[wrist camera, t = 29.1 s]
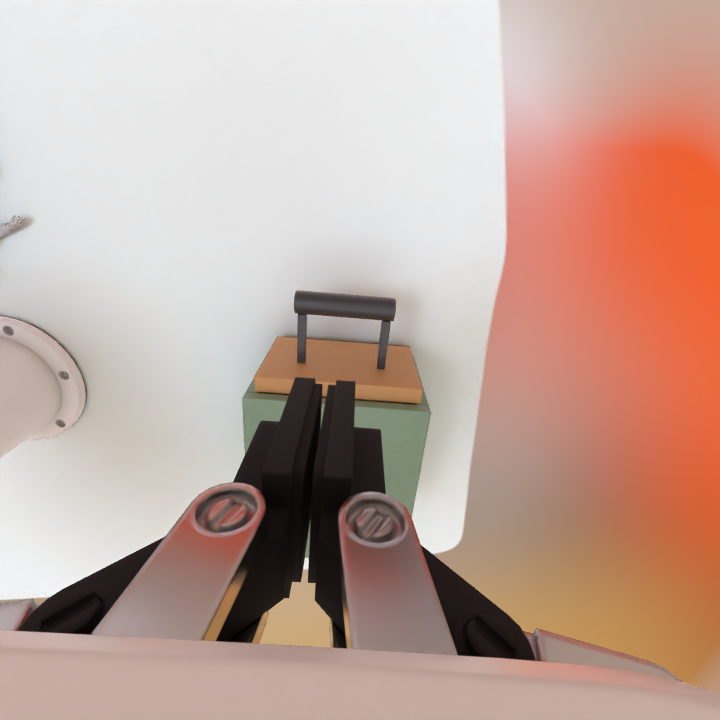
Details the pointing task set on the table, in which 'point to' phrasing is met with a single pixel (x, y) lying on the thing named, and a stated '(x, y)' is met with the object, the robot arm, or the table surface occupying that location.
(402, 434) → the cabinet
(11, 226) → the soldier figure
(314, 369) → the drawer
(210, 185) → the table surface
